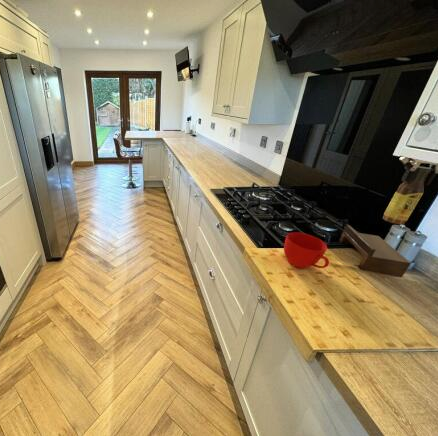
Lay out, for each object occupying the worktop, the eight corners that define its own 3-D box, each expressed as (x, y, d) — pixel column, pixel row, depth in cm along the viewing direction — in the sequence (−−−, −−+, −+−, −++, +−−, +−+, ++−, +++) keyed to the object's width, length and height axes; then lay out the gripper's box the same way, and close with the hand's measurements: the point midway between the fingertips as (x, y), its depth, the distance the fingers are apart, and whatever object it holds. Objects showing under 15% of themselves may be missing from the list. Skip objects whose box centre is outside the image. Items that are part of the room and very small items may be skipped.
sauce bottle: (397, 226, 82) (428, 170, 73) (377, 218, 87) (404, 165, 79) (409, 224, 84) (441, 169, 75) (389, 216, 89) (416, 164, 80)
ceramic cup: (304, 283, 81) (314, 259, 76) (271, 254, 95) (279, 233, 91) (335, 279, 83) (347, 256, 79) (298, 252, 98) (307, 231, 93)
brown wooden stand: (371, 248, 103) (382, 229, 99) (401, 277, 86) (416, 256, 82) (337, 243, 106) (346, 224, 102) (360, 270, 89) (372, 249, 85)
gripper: (422, 124, 70) (392, 183, 78) (495, 127, 66) (455, 189, 74) (405, 122, 76) (378, 177, 84) (470, 126, 73) (436, 182, 81)
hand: (415, 182), depth 79 cm, fingers closed on sauce bottle, 4 cm apart
